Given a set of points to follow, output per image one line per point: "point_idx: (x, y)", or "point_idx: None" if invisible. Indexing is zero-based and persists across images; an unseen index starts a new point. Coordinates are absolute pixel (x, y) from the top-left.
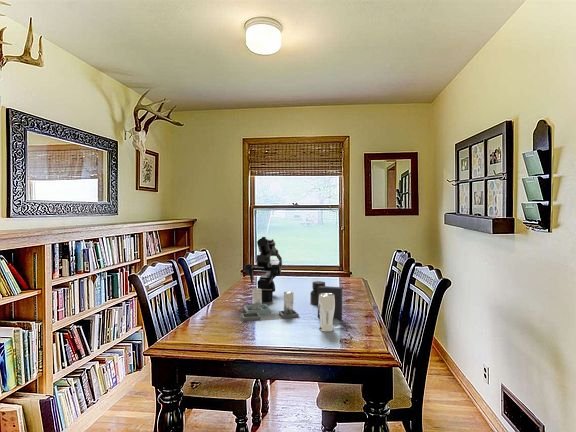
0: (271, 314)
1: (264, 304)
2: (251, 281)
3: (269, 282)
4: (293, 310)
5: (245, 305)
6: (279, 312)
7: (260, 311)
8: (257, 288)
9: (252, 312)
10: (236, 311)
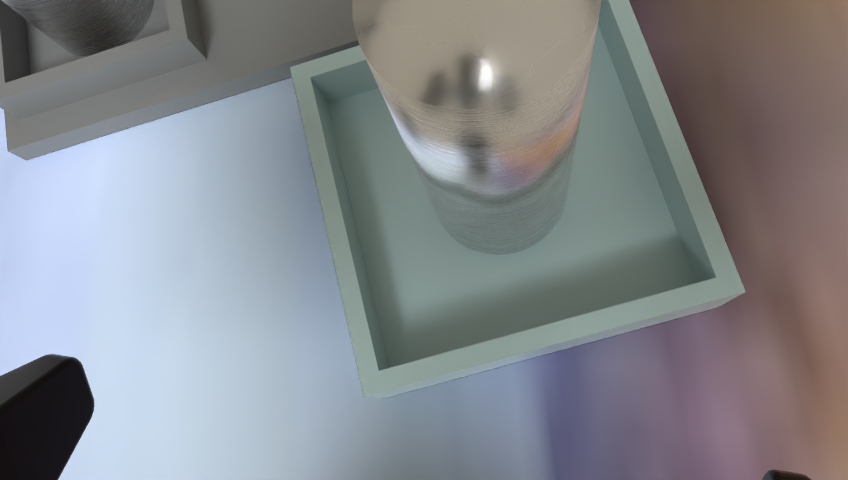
0: (295, 37)
1: (389, 372)
2: (785, 475)
3: (52, 360)
4: (5, 84)
5: (719, 292)
6: (186, 9)
7: None
8: (470, 82)
9: None
10: (840, 283)
